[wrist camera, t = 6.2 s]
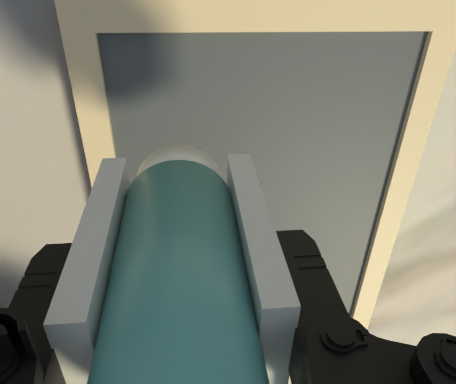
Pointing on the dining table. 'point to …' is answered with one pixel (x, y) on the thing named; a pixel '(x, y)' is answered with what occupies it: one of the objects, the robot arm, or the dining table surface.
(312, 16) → the slate board
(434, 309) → the dining table surface
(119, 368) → the teal marker
